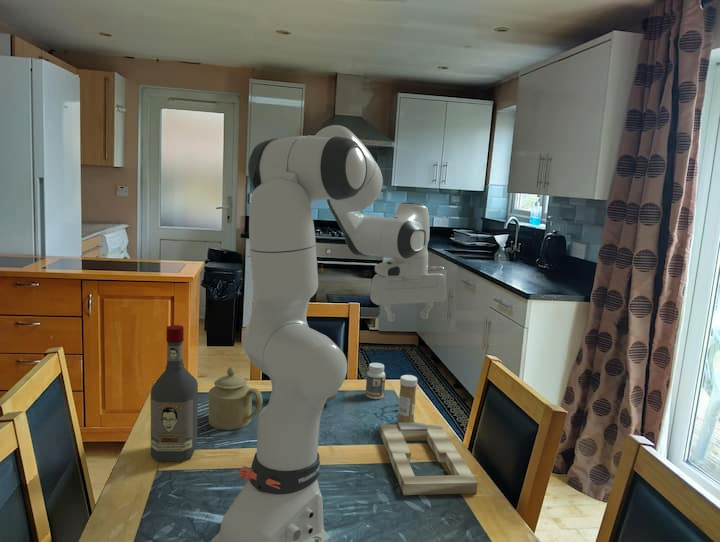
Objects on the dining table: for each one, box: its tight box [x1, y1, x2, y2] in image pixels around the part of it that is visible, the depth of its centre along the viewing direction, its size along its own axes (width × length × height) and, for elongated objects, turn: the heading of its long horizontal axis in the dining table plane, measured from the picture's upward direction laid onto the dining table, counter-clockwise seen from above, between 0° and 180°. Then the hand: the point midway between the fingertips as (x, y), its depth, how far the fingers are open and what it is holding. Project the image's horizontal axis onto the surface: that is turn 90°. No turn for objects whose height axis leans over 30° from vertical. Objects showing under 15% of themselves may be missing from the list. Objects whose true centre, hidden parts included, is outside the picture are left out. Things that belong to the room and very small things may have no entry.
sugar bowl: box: [208, 366, 264, 431], centre depth 141 cm, size 15×11×15 cm
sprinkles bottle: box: [397, 374, 418, 424], centre depth 146 cm, size 5×5×13 cm
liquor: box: [150, 324, 199, 464], centre depth 122 cm, size 9×9×30 cm
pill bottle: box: [365, 362, 386, 400], centre depth 165 cm, size 6×6×10 cm
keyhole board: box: [379, 422, 478, 496], centre depth 128 cm, size 28×16×3 cm, turn 8°
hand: (407, 319), depth 140 cm, fingers open, 8 cm apart
